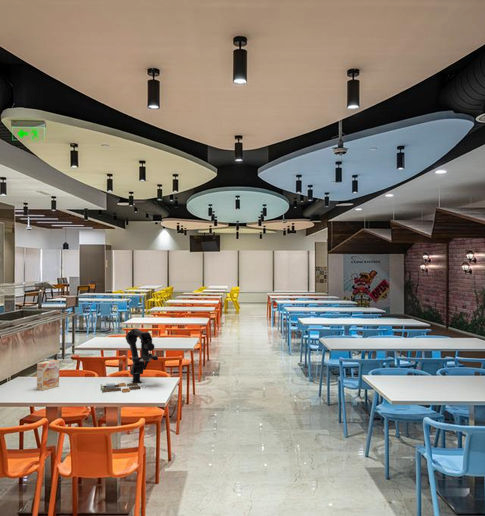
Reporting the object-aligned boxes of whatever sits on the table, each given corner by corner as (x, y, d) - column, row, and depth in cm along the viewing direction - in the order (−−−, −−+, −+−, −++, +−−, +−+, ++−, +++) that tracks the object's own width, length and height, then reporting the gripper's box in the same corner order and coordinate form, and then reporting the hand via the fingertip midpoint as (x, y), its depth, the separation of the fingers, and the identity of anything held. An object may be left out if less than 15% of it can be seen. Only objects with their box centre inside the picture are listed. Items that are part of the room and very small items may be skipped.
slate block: (106, 389, 356) (106, 383, 356) (114, 388, 357) (114, 383, 357) (105, 391, 350) (105, 385, 350) (114, 390, 351) (114, 385, 351)
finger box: (100, 388, 357) (100, 384, 357) (137, 385, 367) (137, 381, 367) (102, 392, 345) (102, 388, 345) (140, 389, 355) (140, 385, 355)
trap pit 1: (118, 385, 367) (118, 383, 367) (125, 384, 368) (125, 382, 368) (119, 386, 362) (119, 384, 362) (126, 386, 364) (126, 384, 364)
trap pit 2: (121, 390, 350) (121, 388, 350) (128, 390, 352) (128, 388, 352) (122, 392, 345) (122, 390, 345) (129, 391, 347) (129, 389, 347)
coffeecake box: (43, 390, 350) (43, 363, 350) (36, 389, 353) (36, 362, 353) (59, 386, 363) (59, 360, 363) (52, 385, 366) (53, 359, 367)
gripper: (134, 351, 355) (133, 372, 355) (159, 350, 362) (159, 371, 362) (131, 349, 366) (131, 369, 365) (156, 347, 372) (156, 368, 372)
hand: (144, 369), depth 366 cm, fingers closed
